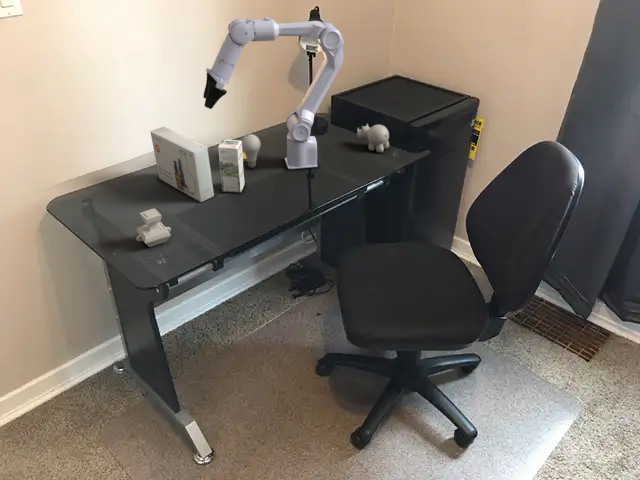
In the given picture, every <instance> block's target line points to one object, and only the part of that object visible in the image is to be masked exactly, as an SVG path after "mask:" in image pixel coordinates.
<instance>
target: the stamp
mask: <svg viewBox="0 0 640 480" xmlns="http://www.w3.org/2000/svg"><path fill="white" fill-rule="evenodd" d="M139 215H140V218H141V220H142V221H143V222H144V224H143V225H140V226H137V227H136V233H137V234H138V235H137V236H136V238H135V240H136V241H137V242H144V244H145V245H146V246H148V247H149V248H151V247H154V246H157V245H160V244H164V243H167V241H168V240H169V239H170V238H171V236H172V234H171V231H172V228H171V227H170V226H165V225H164V224H163V222H162V221H161V220H162V218H163V217H162V214H161V213H160V212H159V211H158V210H157V208H155V207H154V208H150V209H147V210H144V211H142V212H139Z"/></svg>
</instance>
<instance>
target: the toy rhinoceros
mask: <svg viewBox="0 0 640 480" xmlns="http://www.w3.org/2000/svg"><path fill="white" fill-rule="evenodd" d="M356 131H357V133H356V137H357V138H358V139H359V140H363V139H366V140H368V142H369V144H368V146H367V148H368V150H369V151H373V152H374V151H375V152H377V153H384V151H385V150H386V149H389V147H390V141H389V138H390V132H389V130H388V128H387V127H386V126H385V125H383V124H374V125H372V126H371V127H370V126H369V123H366V124H365V126H364V125H361V128H360V127H357V129H356Z"/></svg>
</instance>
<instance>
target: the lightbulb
mask: <svg viewBox="0 0 640 480" xmlns="http://www.w3.org/2000/svg"><path fill="white" fill-rule="evenodd" d="M240 141H241V142H242V151H243V152H244V153H245V155H246V158H247V161H246V162H247V166H248V168H251V169H254V168H255V167H256V166H257V159H258V158H257V157H258V154H259V152H260V149H261V146H262V145H261V140H260V138H259V137H258V136H257V135H255V134H251V133H249V134H247V135H244V136H243V137H242V138H241V140H240Z"/></svg>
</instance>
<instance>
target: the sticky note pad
mask: <svg viewBox="0 0 640 480" xmlns="http://www.w3.org/2000/svg"><path fill="white" fill-rule="evenodd" d="M242 156H243V163H245V162H248V161H247V158H246V155H245V153H244V151H243V150H242Z"/></svg>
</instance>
